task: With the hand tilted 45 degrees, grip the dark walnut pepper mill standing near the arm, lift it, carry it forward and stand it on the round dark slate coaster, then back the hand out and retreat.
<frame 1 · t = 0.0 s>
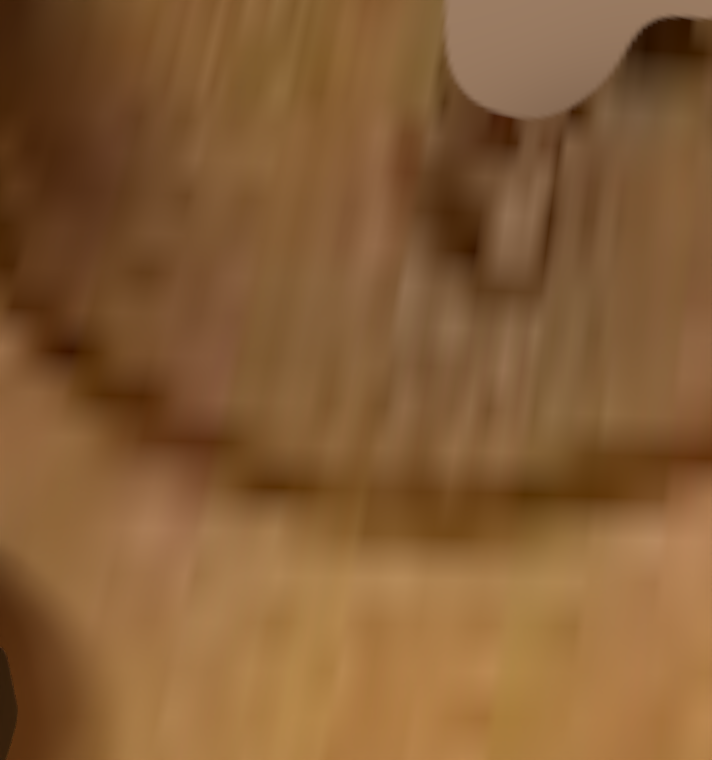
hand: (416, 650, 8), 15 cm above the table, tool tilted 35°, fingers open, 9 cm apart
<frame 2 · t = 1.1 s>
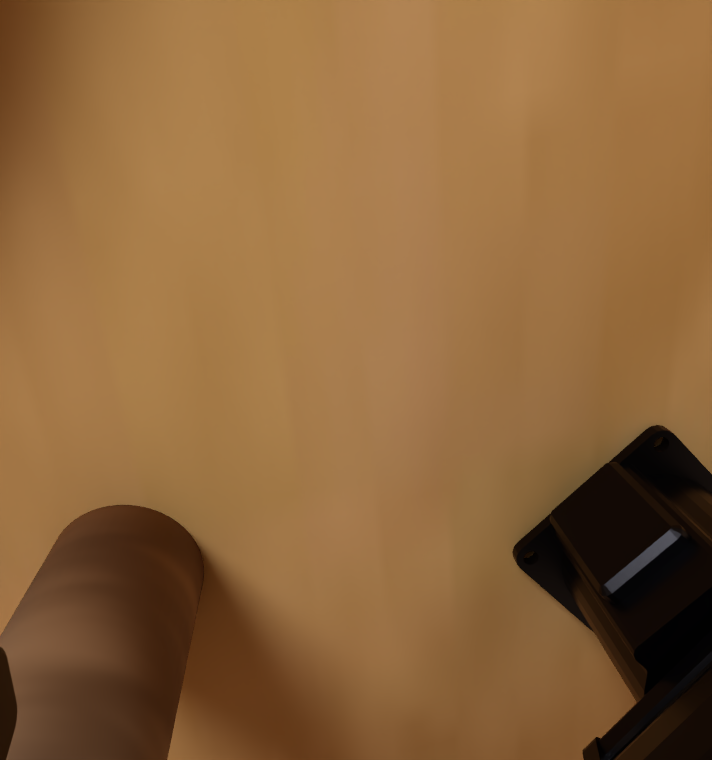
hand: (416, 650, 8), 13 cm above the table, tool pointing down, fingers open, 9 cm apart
pepper mill: (127, 570, 22), on the table
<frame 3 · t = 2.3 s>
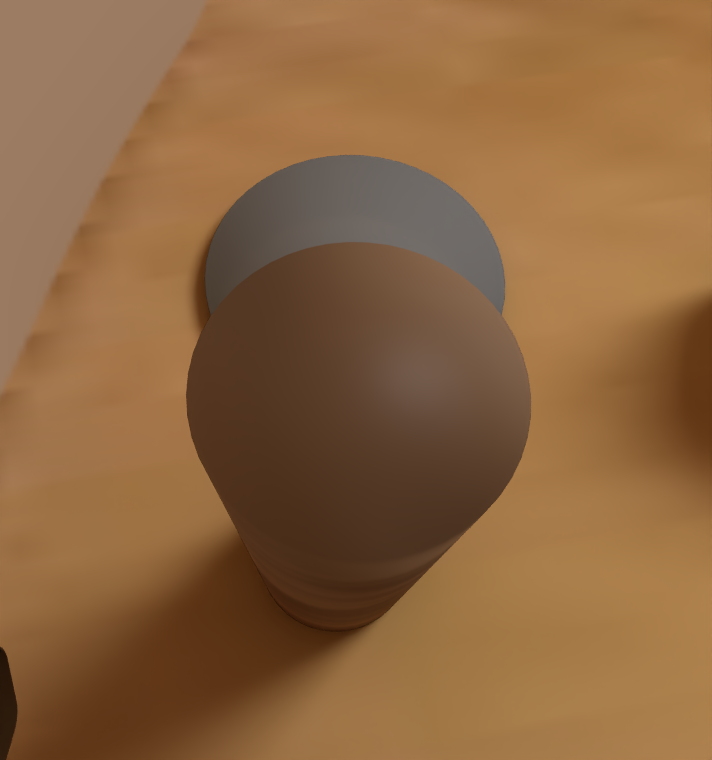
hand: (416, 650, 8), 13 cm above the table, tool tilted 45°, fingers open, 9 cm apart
pepper mill: (336, 550, 21), on the table
coaster: (355, 279, 25), on the table
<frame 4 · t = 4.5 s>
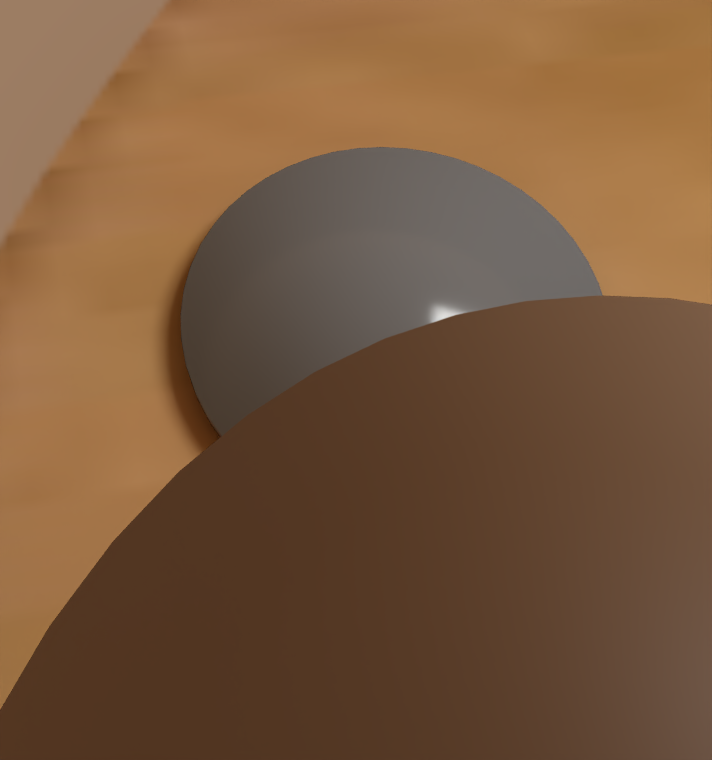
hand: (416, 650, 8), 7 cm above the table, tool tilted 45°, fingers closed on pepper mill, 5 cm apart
pepper mill: (370, 750, 14), on the table, touching gripper
coaster: (396, 319, 18), on the table
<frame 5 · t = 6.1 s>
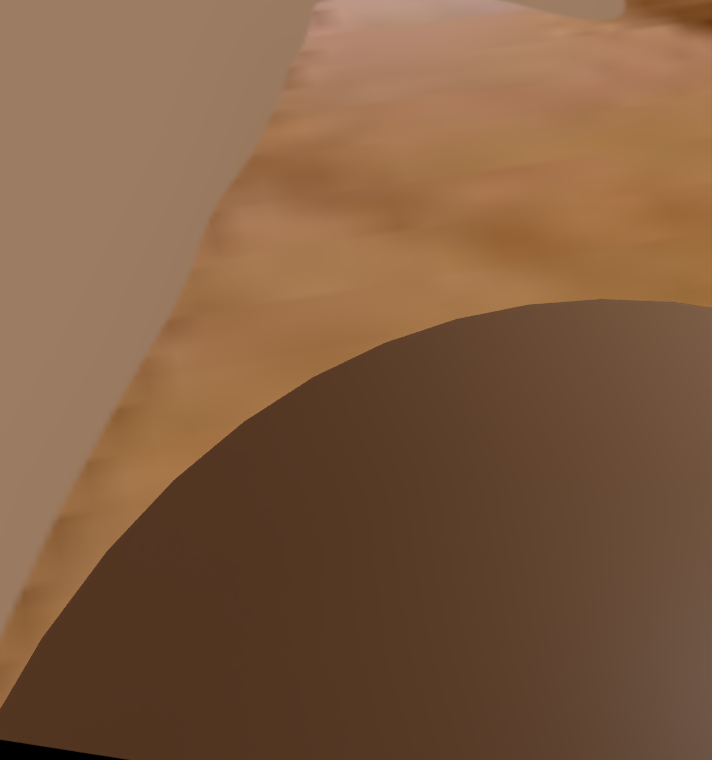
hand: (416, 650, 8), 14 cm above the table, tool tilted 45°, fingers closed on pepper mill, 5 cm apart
pepper mill: (370, 752, 14), point 7 cm above the table, touching gripper
when the fingers open (9 cm above the table, at t = 7.5 s): pepper mill drops 1 cm, resting on coaster.
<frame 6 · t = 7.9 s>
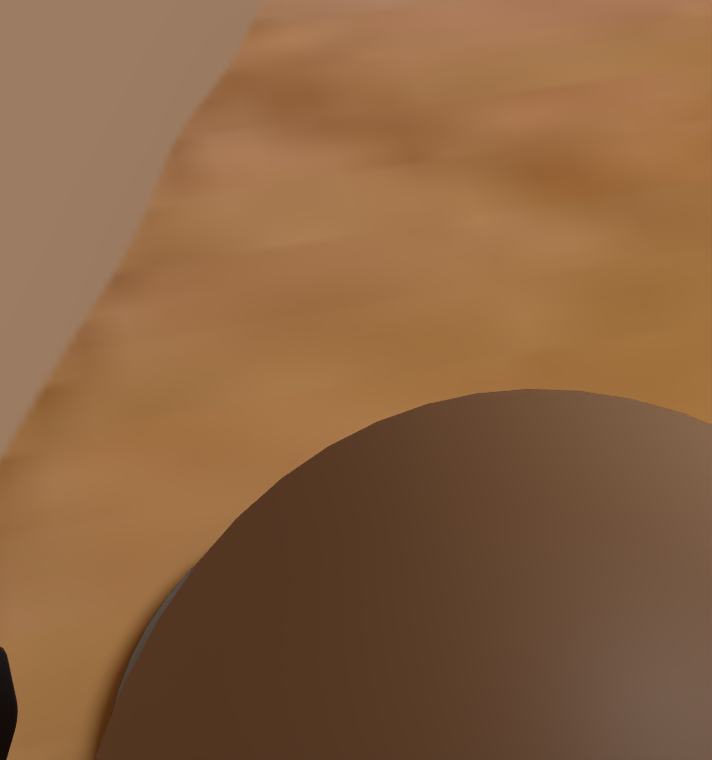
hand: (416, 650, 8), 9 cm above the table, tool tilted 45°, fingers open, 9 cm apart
pepper mill: (365, 751, 15), point 1 cm above the table, touching coaster
coaster: (363, 744, 15), on the table
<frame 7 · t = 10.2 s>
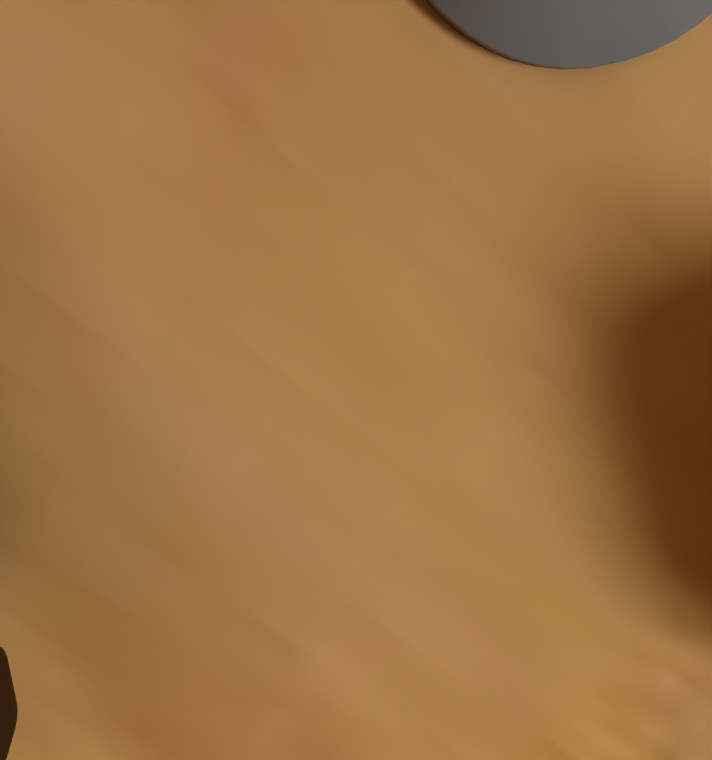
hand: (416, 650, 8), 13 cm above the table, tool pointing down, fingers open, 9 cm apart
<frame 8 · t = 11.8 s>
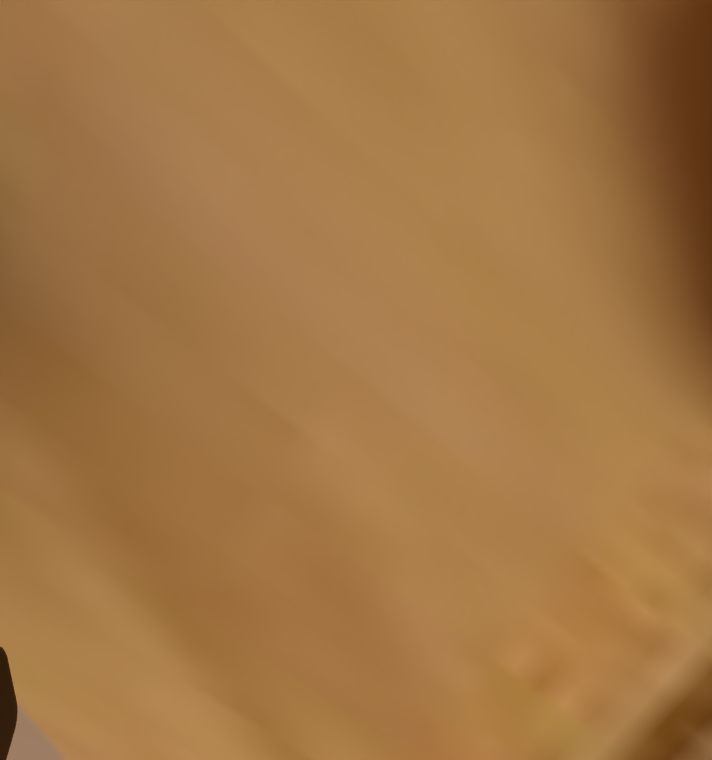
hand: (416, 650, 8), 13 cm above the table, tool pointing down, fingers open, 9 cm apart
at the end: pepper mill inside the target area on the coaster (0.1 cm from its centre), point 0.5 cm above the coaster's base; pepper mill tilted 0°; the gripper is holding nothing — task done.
